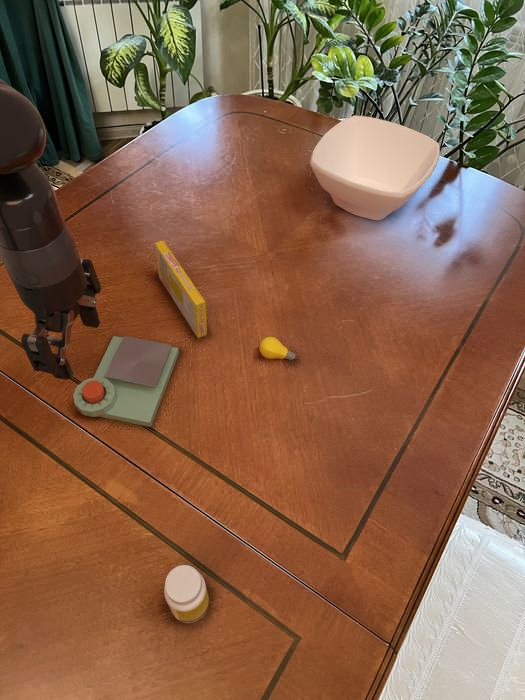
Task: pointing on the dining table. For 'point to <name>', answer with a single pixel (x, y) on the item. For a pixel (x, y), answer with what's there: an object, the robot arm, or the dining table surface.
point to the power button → (93, 392)
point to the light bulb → (274, 349)
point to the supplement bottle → (186, 594)
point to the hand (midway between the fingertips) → (79, 350)
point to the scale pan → (139, 361)
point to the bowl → (373, 165)
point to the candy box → (181, 289)
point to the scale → (125, 392)
